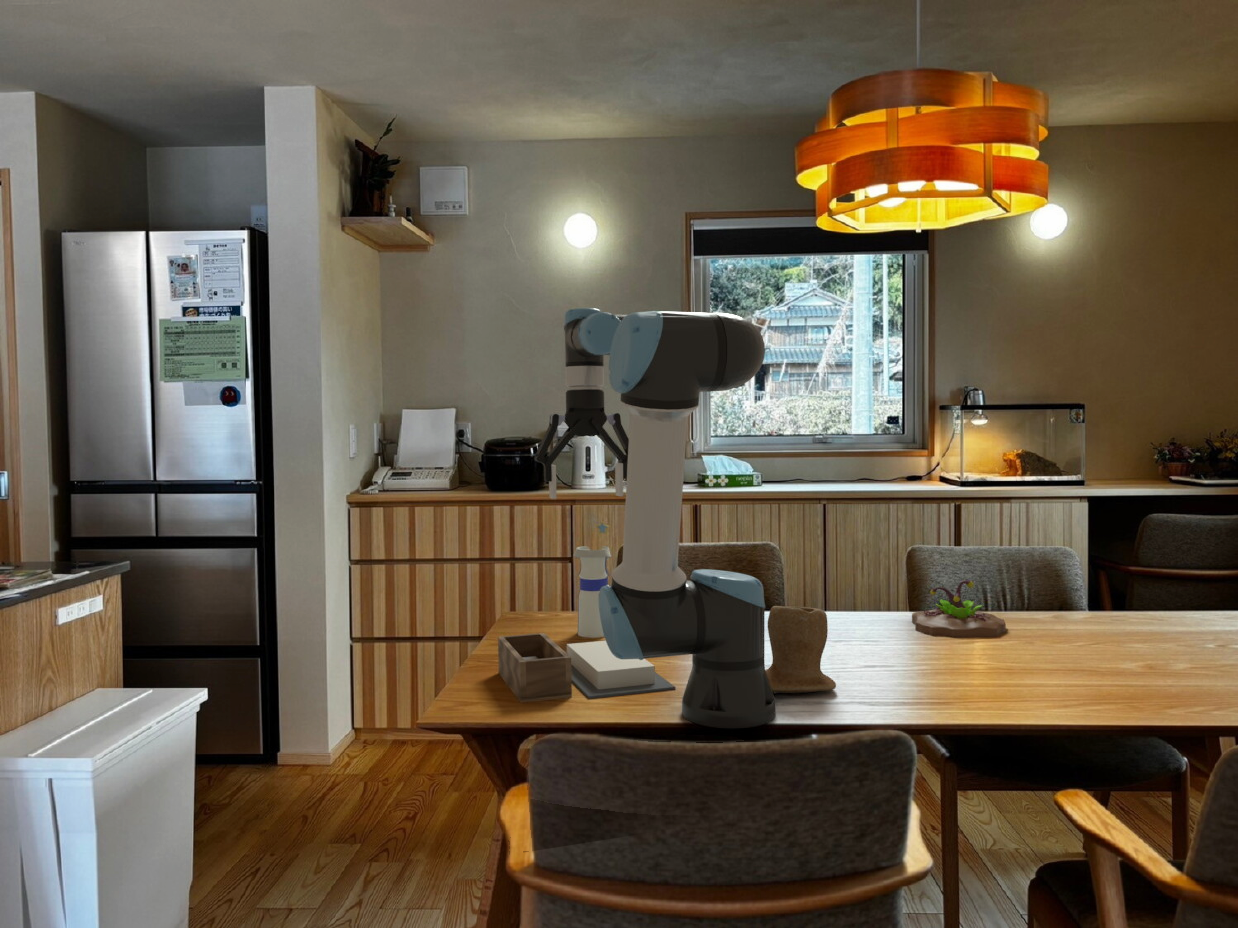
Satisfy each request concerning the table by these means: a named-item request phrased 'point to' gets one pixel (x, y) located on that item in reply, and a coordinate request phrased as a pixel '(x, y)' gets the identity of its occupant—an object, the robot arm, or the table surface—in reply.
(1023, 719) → the table surface
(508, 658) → the walnut box
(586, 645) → the lid
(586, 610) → the water bottle
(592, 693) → the rubber mat
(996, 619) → the plant
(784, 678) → the brown suede boot shape
